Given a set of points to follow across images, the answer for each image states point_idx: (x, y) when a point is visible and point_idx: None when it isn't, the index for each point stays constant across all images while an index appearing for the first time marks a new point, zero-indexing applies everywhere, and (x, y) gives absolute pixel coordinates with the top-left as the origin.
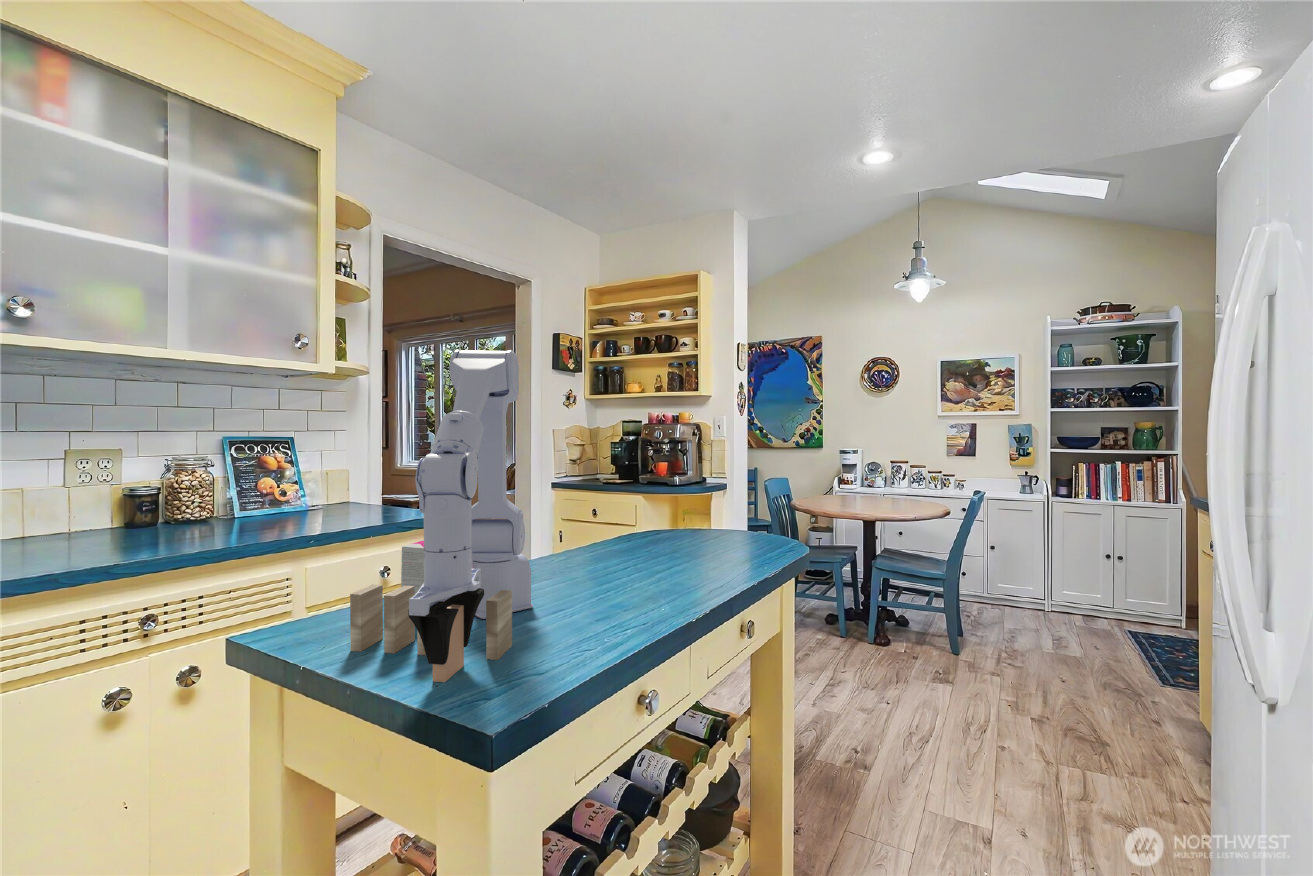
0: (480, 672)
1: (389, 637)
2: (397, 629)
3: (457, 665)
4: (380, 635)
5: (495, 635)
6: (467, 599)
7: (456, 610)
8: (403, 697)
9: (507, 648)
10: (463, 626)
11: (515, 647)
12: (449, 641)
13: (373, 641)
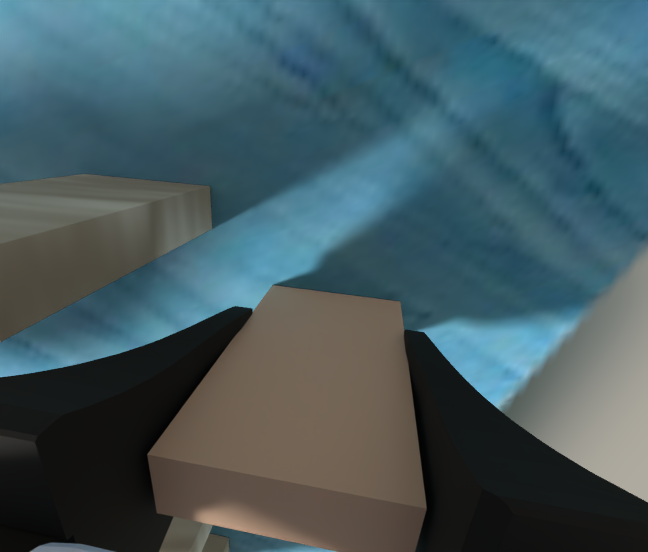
0: (317, 212)
1: (205, 529)
2: (181, 536)
3: (313, 298)
4: None
5: (157, 211)
6: (105, 470)
7: (557, 513)
8: (501, 378)
9: (120, 178)
10: (217, 364)
11: (90, 156)
12: (422, 369)
13: None
